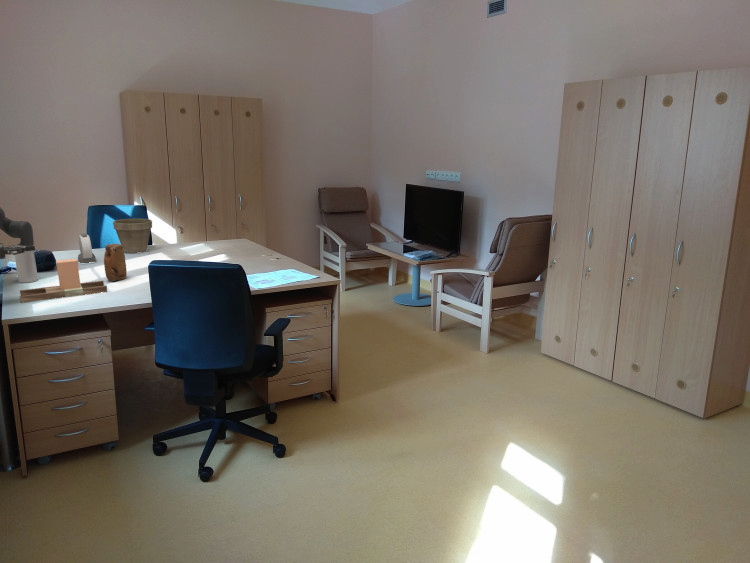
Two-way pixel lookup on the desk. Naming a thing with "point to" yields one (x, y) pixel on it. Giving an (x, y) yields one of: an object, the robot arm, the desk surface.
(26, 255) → the robot arm
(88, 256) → the grey piece
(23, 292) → the track
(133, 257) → the desk surface
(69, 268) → the block
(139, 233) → the plant pot
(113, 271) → the block
